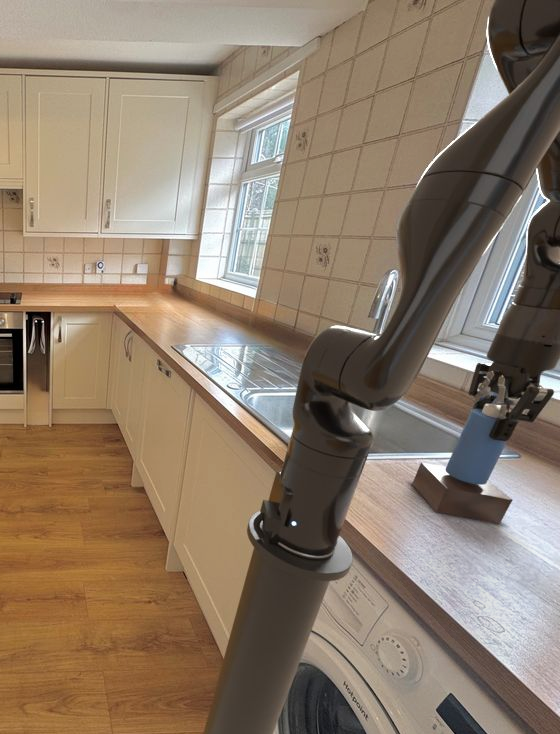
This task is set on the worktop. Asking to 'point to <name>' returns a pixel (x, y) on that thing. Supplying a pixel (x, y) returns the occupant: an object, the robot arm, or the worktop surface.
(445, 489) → the walnut block
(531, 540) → the worktop surface
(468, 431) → the blue bottle
